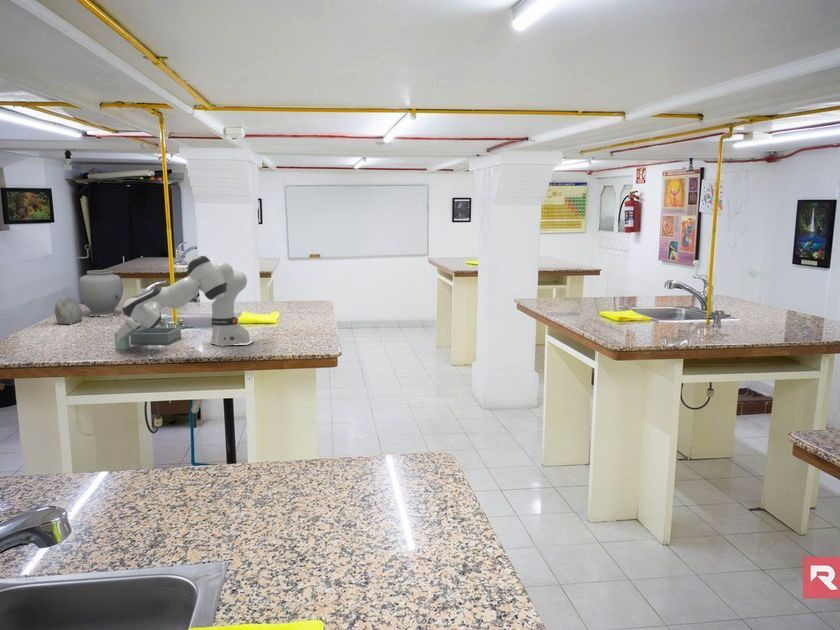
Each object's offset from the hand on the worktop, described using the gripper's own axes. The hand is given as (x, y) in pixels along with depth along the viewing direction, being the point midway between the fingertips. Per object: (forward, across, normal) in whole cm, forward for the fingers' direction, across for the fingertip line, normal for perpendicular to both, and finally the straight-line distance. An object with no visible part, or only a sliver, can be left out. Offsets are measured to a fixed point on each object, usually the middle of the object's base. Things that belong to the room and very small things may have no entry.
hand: (121, 339), depth 328 cm
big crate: (-3, -20, +10) cm, 23 cm away
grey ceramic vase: (+48, -105, -40) cm, 122 cm away
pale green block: (+3, 0, +4) cm, 5 cm away
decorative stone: (+52, -75, -44) cm, 101 cm away
